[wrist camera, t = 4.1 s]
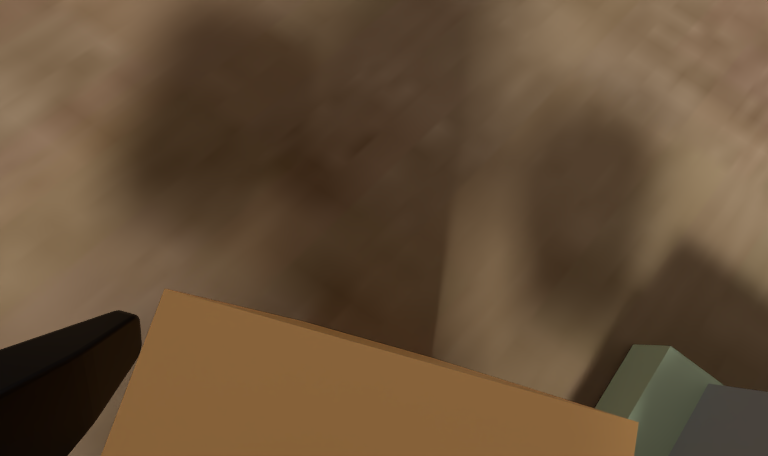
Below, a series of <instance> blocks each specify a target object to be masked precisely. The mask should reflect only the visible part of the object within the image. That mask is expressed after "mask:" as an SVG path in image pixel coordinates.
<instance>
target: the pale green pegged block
mask: <svg viewBox="0 0 768 456" xmlns="http://www.w3.org/2000/svg"><path fill="white" fill-rule="evenodd" d="M595 409H598V410H601V411H604V412H608V413H611V414H614V415H617V416H620V417H624V418H627V419H630V420H633V421H636V422H639V424H638V431H637V438H636V446H635V453H634V456H768V392H765V391H758V390H751V389H744V388H737V387H729V386H724V385H723V384H722V383H720V382H719V381H717V380H716V379H715V378H713V377H712V376H711V375H709V374H708V373H707V372H705V371H704V370H703V369H701V368H700V367H699V366H697V365H696V364H694V363H693V362H692V361H690V360H689V359H688V358H686V357H685V356H684V355H682V354H681V353H680V352H678V351H677V350H675V349H674V348H673V347H671V346H661V345H635V344H633V346H632V347H631V349H630V351H629V352H628V354H627V356H626V357H625V359H624V361H623V362H622V364H621V366H620V367H619V369H618V370H617V372H616V374H615V375H614V377H613V379H612V380H611V382H610V384H609V385H608V387H607V389H606V390H605V392H604V394H603V395H602V397H601V398H600V400H599V402H598V403H597V405H596V407H595Z"/></svg>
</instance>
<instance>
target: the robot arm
mask: <svg viewBox="0 0 768 456" xmlns="http://www.w3.org/2000/svg"><path fill="white" fill-rule="evenodd" d="M141 346H142V341H141V328H140V319H139V317H138V316H137V315H135V314H131V313H128V312H124V311H120V310H117V311H113V312H110V313H107V314H104V315H101V316H98V317H95V318H92V319H89V320H86V321H83V322H80V323H77V324H75V325H72V326H69V327H66V328H63V329H60V330H57V331H54V332H51V333H48V334H45V335H42V336H39V337H36V338H33V339H30V340H27V341H24V342H21V343H19V344H16V345H13V346H10V347H7V348H4V349H1V350H0V456H68V454H69V453H70V452H71V451H72V450H73V448H74V447H75V446H76V445H77V444H78V442H79V441H80V440H81V439H82V437H83V436H84V435H85V434H86V433H87V431H88V430H89V429H90V428H91V426H92V425H93V424H94V422H95V421H96V420H97V418H98V417H99V415H100V414H101V412H102V411H103V409H104V408H105V406H106V405H107V403H108V402H109V400H110V399H111V397H112V396H113V394H114V393H115V391H116V390H117V388H118V387H119V385H120V384H121V382H122V381H123V379H124V378H125V376H126V375H127V373H128V372H129V370H130V369H131V367H132V366H133V364H134V363H135V361H136V360H137V358H138V356H139V354H140V351H141Z"/></svg>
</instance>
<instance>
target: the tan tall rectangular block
mask: <svg viewBox="0 0 768 456" xmlns="http://www.w3.org/2000/svg"><path fill="white" fill-rule="evenodd" d="M638 424H639V422H636V421H633V420H630V419H627V418H624V417H620V416H617V415H614V414H611V413H608V412H604V411H601V410H598V409H595V408H592V407H588V406H585V405H582V404H579V403H576V402H572V401H569V400H566V399H563V398H560V397H556V396H553V395H550V394H547V393H544V392H540V391H537V390H534V389H531V388H528V387H524V386H521V385H518V384H515V383H512V382H508V381H505V380H502V379H499V378H496V377H492V376H489V375H486V374H483V373H480V372H476V371H473V370H470V369H467V368H464V367H460V366H457V365H454V364H451V363H448V362H444V361H441V360H438V359H435V358H432V357H428V356H425V355H421V354H417V353H414V352H410V351H407V350H403V349H400V348H396V347H393V346H389V345H386V344H382V343H378V342H375V341H371V340H368V339H364V338H361V337H357V336H354V335H350V334H347V333H343V332H339V331H336V330H332V329H329V328H325V327H322V326H318V325H315V324H311V323H308V322H304V321H300V320H296V319H292V318H287V317H283V316H279V315H275V314H270V313H266V312H262V311H258V310H254V309H249V308H245V307H241V306H237V305H232V304H228V303H224V302H220V301H216V300H211V299H207V298H203V297H199V296H194V295H190V294H186V293H182V292H178V291H173V290H169V289H164V292H163V294H162V297H161V300H160V302H159V305H158V307H157V310H156V313H155V315H154V318H153V321H152V323H151V326H150V328H149V331H148V334H147V336H146V339H145V342H144V344H143V347H142V349H141V352H140V355H139V357H138V360H137V363H136V365H135V368H134V370H133V373H132V376H131V378H130V381H129V384H128V386H127V389H126V391H125V394H124V397H123V399H122V402H121V405H120V407H119V410H118V412H117V415H116V418H115V420H114V423H113V426H112V428H111V431H110V433H109V436H108V439H107V441H106V444H105V447H104V449H103V452H102V454H101V456H634V453H635V446H636V438H637V431H638Z"/></svg>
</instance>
